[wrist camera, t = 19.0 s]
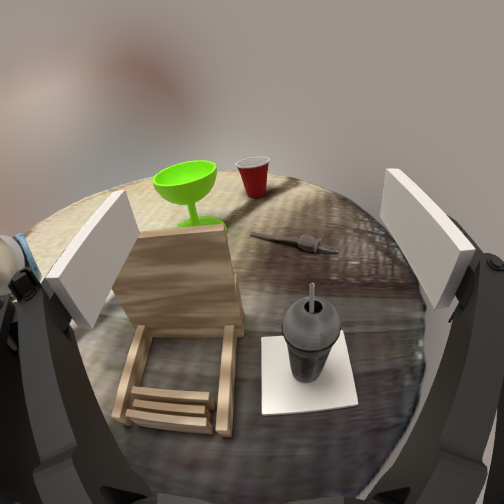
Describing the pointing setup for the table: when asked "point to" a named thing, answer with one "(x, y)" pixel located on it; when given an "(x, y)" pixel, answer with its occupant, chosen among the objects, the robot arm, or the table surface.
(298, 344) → the beverage cup
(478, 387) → the robot arm
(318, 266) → the table surface
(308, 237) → the natural artifact
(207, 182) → the wineglass
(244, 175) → the plastic cup
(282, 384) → the white tile
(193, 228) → the pine rack
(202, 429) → the plywood offcuts
